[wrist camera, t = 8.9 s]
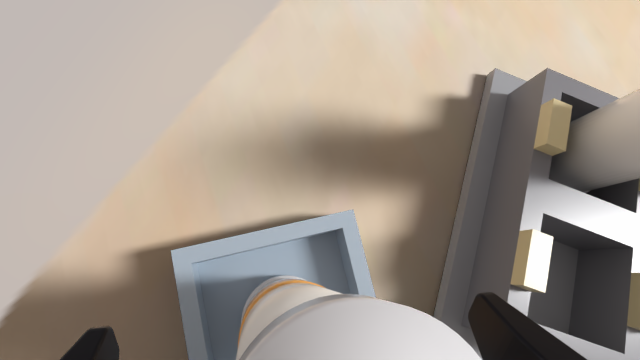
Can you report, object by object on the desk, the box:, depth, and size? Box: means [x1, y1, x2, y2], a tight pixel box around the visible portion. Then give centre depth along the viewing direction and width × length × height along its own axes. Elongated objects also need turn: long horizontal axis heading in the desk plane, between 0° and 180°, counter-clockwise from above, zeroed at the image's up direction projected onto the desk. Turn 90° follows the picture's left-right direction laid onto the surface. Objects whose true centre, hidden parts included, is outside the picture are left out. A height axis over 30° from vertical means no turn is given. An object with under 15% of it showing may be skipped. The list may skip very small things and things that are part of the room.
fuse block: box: [433, 68, 640, 360], centre depth 19 cm, size 16×9×5 cm, turn 161°
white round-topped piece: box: [236, 275, 482, 360], centre depth 10 cm, size 4×4×13 cm
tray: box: [171, 210, 376, 360], centre depth 16 cm, size 8×8×2 cm
